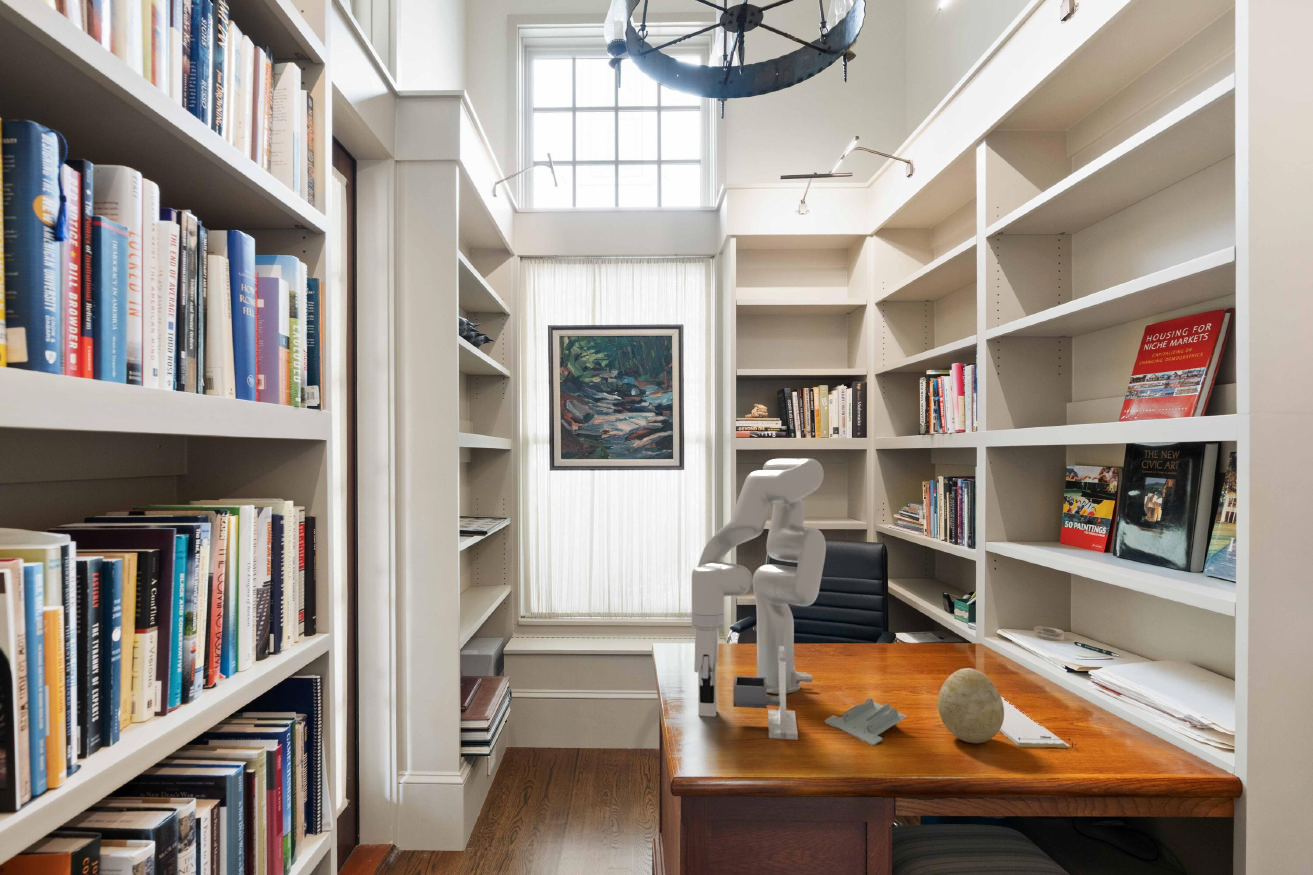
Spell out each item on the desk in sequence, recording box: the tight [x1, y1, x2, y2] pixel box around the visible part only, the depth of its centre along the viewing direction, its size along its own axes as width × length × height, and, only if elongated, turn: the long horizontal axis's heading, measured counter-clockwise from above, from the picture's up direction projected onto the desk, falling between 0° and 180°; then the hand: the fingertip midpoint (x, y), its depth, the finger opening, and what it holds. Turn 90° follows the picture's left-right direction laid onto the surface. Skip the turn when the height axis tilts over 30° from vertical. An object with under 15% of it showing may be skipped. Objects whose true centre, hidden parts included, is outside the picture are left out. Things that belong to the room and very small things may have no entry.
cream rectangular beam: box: [697, 666, 718, 717], centre depth 163 cm, size 4×4×11 cm
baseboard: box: [999, 696, 1077, 749], centre depth 158 cm, size 31×3×12 cm
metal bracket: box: [824, 697, 907, 746], centre depth 153 cm, size 14×6×15 cm
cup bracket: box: [732, 645, 799, 740], centre depth 155 cm, size 14×14×16 cm
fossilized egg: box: [937, 667, 1004, 744], centre depth 147 cm, size 13×13×15 cm
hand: (707, 698), depth 163 cm, fingers closed on cream rectangular beam, 4 cm apart
